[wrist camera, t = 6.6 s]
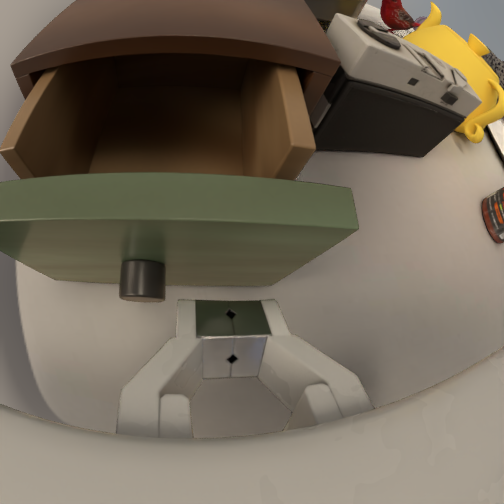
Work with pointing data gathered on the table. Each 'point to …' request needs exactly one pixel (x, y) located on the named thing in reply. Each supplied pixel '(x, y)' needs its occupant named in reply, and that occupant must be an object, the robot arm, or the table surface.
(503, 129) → the plate
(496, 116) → the teapot
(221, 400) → the table surface
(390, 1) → the decorative bird figurine
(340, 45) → the camera
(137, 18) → the cabinet
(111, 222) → the drawer
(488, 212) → the supplement bottle
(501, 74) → the bowl
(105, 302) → the table surface
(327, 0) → the planter
